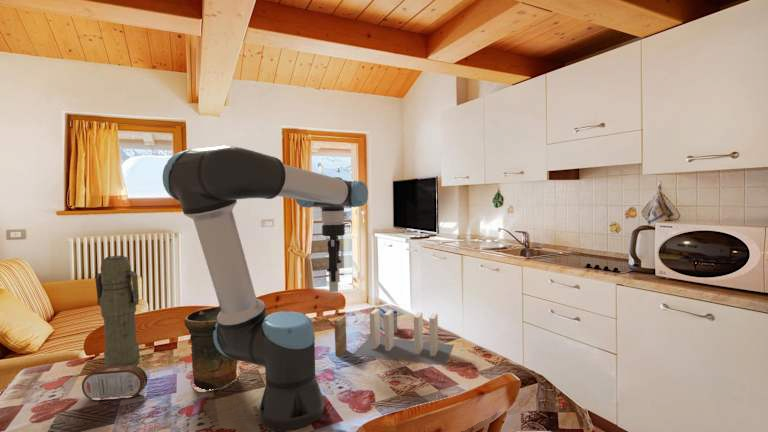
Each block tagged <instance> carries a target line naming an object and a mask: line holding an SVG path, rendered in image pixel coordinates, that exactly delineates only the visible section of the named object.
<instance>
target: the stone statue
mask: <svg viewBox="0 0 768 432" xmlns="http://www.w3.org/2000/svg"><path fill="white" fill-rule="evenodd" d="M131 267H132V265H131V262H130V261H129V259H128V257H127V256H125V255H114V256H113V255H112V256H107V257H105V258H103V259H102V262H101V264H100V269H99V270H100V272H99V273H97V274H96V276H95V287H96V288H95V289H96V296H97V305H98V306H99V307H100V314H101V317H102V318H103V326H104V340H105V348H104V351H103V355H104V365H105V366H104V367H113V366H127V365H134V366H137V365H138V364H139V363H140V357H141V356H140V345H139V342H138V340H137V330H136V328H137V327H136V315H135V313H136V311H137V305H139V297H140V296H139V295H140V294H139V282H138V275H137V272H135V271H133V270H132V268H131Z"/></svg>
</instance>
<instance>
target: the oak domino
mask: <svg viewBox="0 0 768 432" xmlns="http://www.w3.org/2000/svg"><path fill="white" fill-rule="evenodd" d="M346 321H347V320H346V315H340V316H338V317H337V318H336V319H334V347H335V348H334V349H335V356H336V357H341V356H342V355H343V354H345V353H346V352H347V347H348V346H347V322H346Z"/></svg>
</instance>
